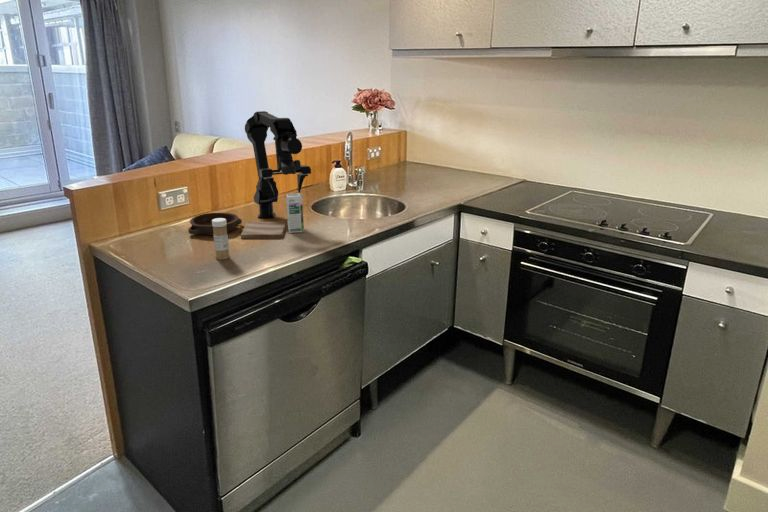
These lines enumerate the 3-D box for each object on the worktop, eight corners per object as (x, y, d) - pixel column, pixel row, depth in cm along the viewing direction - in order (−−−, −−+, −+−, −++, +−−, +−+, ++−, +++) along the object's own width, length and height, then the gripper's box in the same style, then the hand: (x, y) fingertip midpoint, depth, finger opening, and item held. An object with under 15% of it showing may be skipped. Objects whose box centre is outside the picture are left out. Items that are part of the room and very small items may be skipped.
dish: (177, 231, 202) (176, 219, 200) (228, 220, 217) (227, 208, 215) (201, 242, 191) (200, 229, 189) (252, 229, 206) (251, 217, 204)
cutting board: (248, 225, 210) (248, 221, 210) (286, 225, 211) (285, 221, 211) (241, 238, 195) (240, 234, 195) (281, 238, 196) (281, 234, 196)
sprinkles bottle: (225, 254, 179) (221, 216, 175) (232, 257, 177) (228, 219, 172) (212, 257, 176) (209, 219, 172) (220, 261, 173) (216, 222, 169)
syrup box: (289, 233, 202) (287, 196, 197) (287, 229, 207) (285, 193, 202) (304, 232, 203) (302, 195, 198) (302, 228, 208) (300, 192, 204)
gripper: (262, 156, 186) (267, 199, 191) (313, 152, 193) (316, 194, 197) (257, 153, 196) (261, 195, 200) (305, 150, 203) (308, 190, 207)
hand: (287, 193), depth 201 cm, fingers open, 9 cm apart
